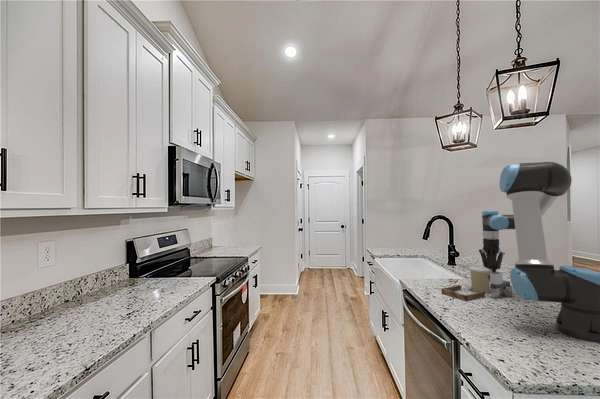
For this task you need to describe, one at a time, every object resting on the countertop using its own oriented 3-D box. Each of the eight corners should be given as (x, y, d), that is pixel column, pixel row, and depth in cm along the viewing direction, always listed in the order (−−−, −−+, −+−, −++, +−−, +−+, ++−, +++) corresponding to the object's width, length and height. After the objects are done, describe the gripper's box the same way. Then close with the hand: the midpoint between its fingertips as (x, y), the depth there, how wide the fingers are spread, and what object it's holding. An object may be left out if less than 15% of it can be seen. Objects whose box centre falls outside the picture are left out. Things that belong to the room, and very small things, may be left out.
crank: (504, 284, 149) (503, 269, 149) (511, 285, 146) (511, 271, 146) (489, 287, 144) (489, 272, 144) (497, 289, 141) (496, 274, 141)
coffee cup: (494, 294, 149) (493, 270, 150) (474, 293, 151) (473, 270, 151) (486, 288, 159) (485, 266, 159) (467, 288, 160) (467, 266, 161)
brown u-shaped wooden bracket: (485, 296, 146) (484, 291, 146) (466, 301, 140) (466, 296, 140) (459, 289, 158) (459, 284, 158) (441, 293, 152) (441, 288, 152)
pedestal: (514, 296, 145) (514, 286, 145) (508, 297, 143) (508, 287, 143) (504, 293, 150) (503, 283, 150) (498, 295, 148) (497, 285, 148)
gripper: (507, 239, 155) (509, 283, 155) (483, 236, 167) (484, 277, 167) (499, 240, 152) (500, 285, 152) (475, 237, 164) (476, 279, 164)
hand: (492, 281), depth 159 cm, fingers closed
